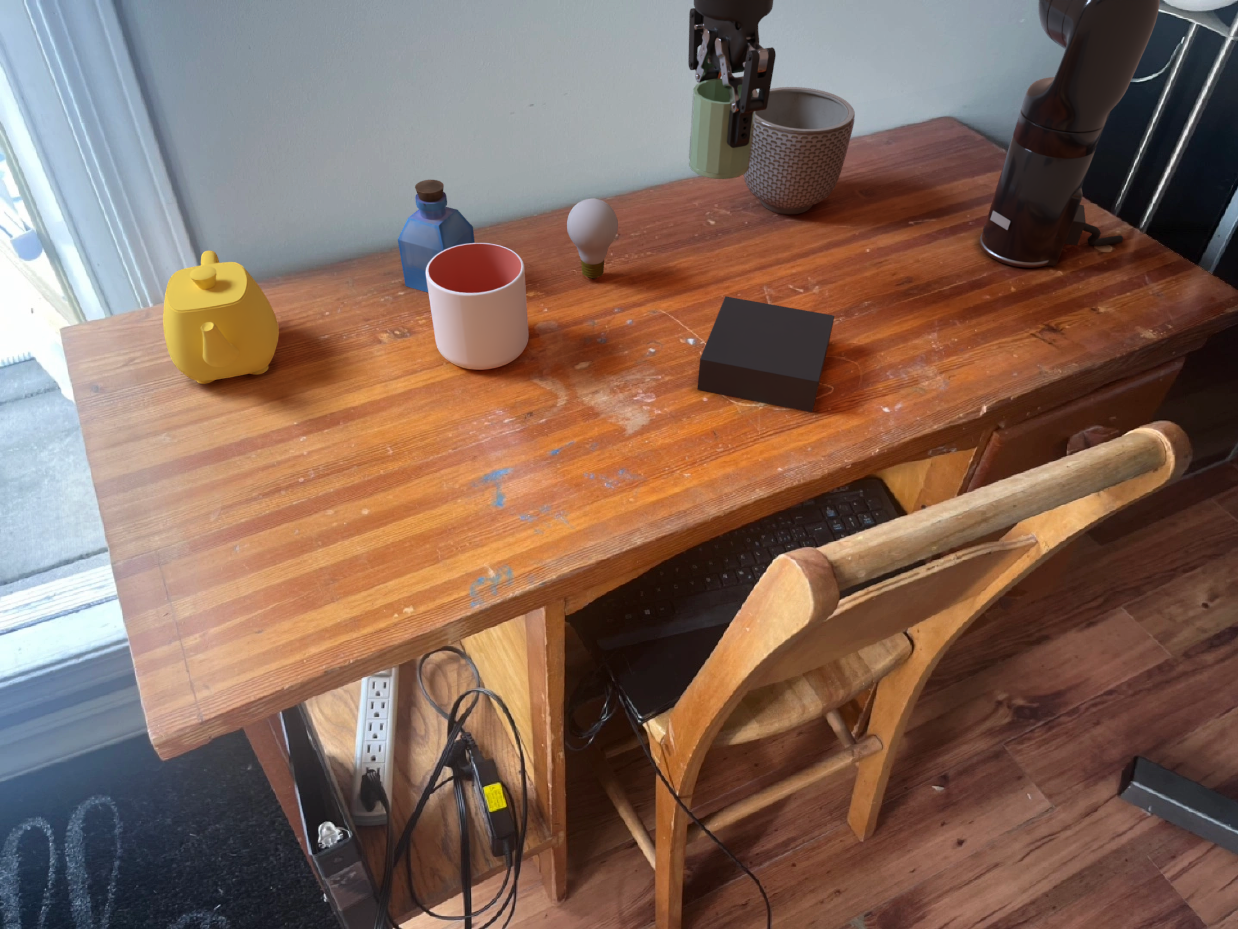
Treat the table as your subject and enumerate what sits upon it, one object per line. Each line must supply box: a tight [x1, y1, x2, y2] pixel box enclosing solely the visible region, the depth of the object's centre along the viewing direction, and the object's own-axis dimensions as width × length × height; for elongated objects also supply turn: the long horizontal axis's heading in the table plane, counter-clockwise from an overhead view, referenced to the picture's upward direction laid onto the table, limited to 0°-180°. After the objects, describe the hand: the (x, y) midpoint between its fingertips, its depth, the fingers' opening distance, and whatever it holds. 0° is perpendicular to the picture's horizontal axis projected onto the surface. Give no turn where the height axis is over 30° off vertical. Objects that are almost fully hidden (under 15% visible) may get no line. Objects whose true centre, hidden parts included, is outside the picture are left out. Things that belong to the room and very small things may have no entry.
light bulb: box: [566, 198, 619, 280], centre depth 110 cm, size 6×6×10 cm
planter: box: [742, 86, 856, 215], centre depth 123 cm, size 14×14×13 cm
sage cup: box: [688, 78, 759, 180], centre depth 98 cm, size 6×6×8 cm
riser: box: [697, 296, 835, 413], centre depth 100 cm, size 12×12×4 cm
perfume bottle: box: [397, 179, 476, 293], centre depth 108 cm, size 6×6×12 cm
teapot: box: [162, 250, 280, 385], centre depth 97 cm, size 18×11×11 cm, turn 18°
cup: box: [426, 242, 530, 371], centre depth 99 cm, size 10×10×10 cm
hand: (722, 130), depth 98 cm, fingers closed on sage cup, 6 cm apart
